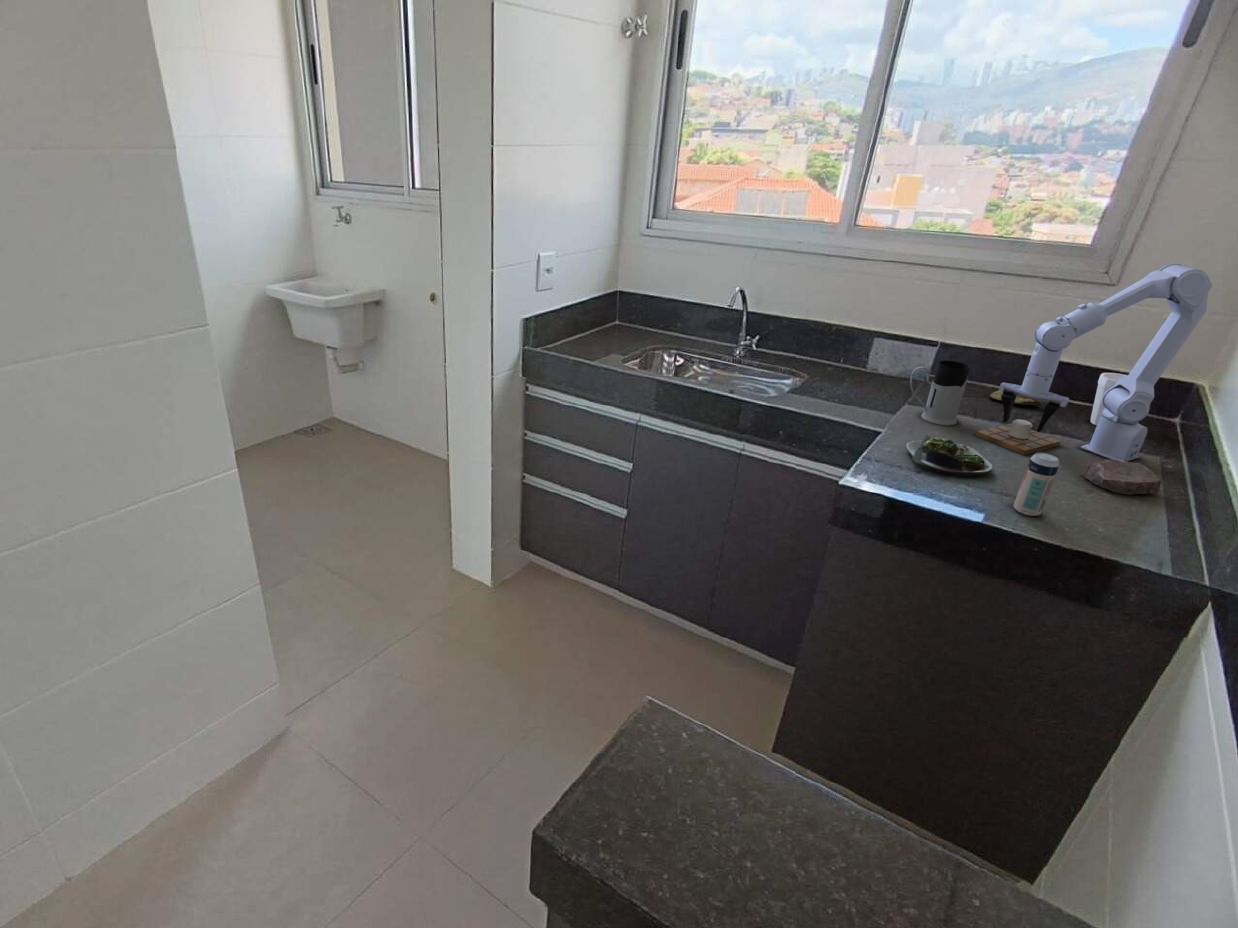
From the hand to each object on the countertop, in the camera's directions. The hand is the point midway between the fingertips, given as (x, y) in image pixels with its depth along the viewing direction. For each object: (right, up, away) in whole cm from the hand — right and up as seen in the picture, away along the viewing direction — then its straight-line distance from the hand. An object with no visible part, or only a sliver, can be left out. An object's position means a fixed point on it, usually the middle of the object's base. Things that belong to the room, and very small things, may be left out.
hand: (1022, 426), depth 162 cm
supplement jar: (-19, -19, -32) cm, 42 cm away
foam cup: (+32, +1, +16) cm, 36 cm away
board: (0, -4, +2) cm, 4 cm away
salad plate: (-25, -9, -13) cm, 30 cm away
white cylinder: (0, -2, +1) cm, 3 cm away
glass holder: (-17, +3, +13) cm, 22 cm away
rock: (+16, +9, +29) cm, 34 cm away
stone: (+9, -15, -20) cm, 26 cm away
